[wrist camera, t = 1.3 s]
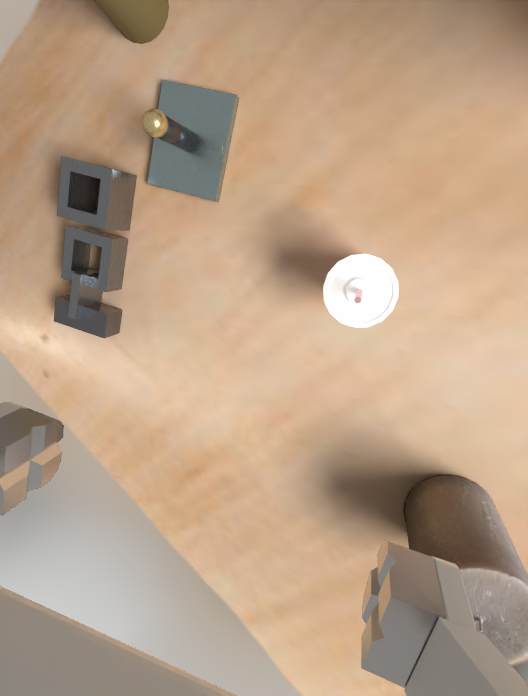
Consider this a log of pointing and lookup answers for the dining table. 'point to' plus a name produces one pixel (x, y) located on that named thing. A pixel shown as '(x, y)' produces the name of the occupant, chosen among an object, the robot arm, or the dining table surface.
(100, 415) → the dining table surface
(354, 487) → the dining table surface
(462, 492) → the pillar candle
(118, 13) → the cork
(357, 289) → the beverage cup
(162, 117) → the grey plate with post
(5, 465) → the robot arm
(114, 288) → the chain tail
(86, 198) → the end link
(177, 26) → the dining table surface
